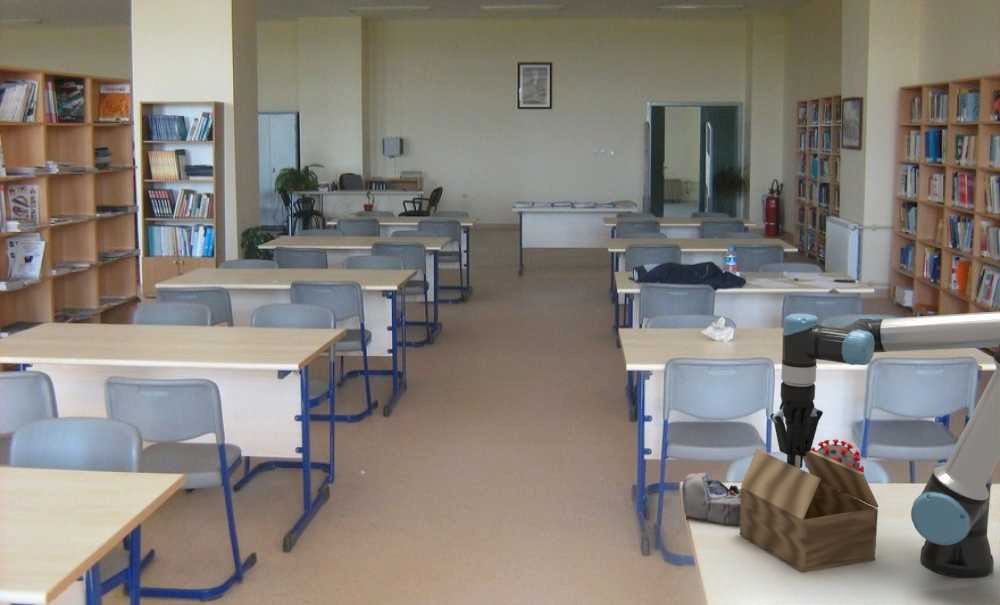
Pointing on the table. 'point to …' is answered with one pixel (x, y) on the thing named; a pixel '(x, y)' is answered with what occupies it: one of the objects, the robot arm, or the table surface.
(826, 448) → the virus model
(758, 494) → the left flap
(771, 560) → the table surface
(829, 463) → the right flap
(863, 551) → the carton
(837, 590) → the table surface
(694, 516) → the cell model
